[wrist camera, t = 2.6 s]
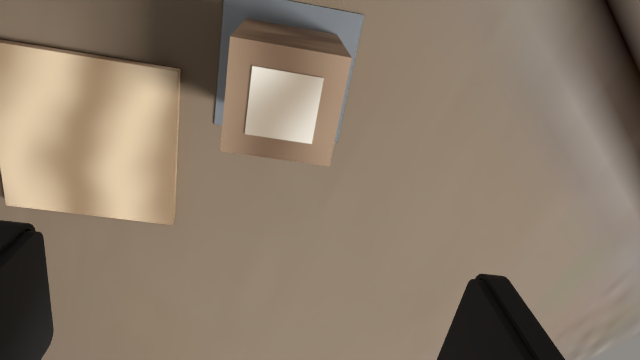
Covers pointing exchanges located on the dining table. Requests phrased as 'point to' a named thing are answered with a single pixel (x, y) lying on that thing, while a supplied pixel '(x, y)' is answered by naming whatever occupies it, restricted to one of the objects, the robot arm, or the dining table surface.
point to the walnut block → (283, 92)
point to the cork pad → (88, 133)
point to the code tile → (273, 6)
